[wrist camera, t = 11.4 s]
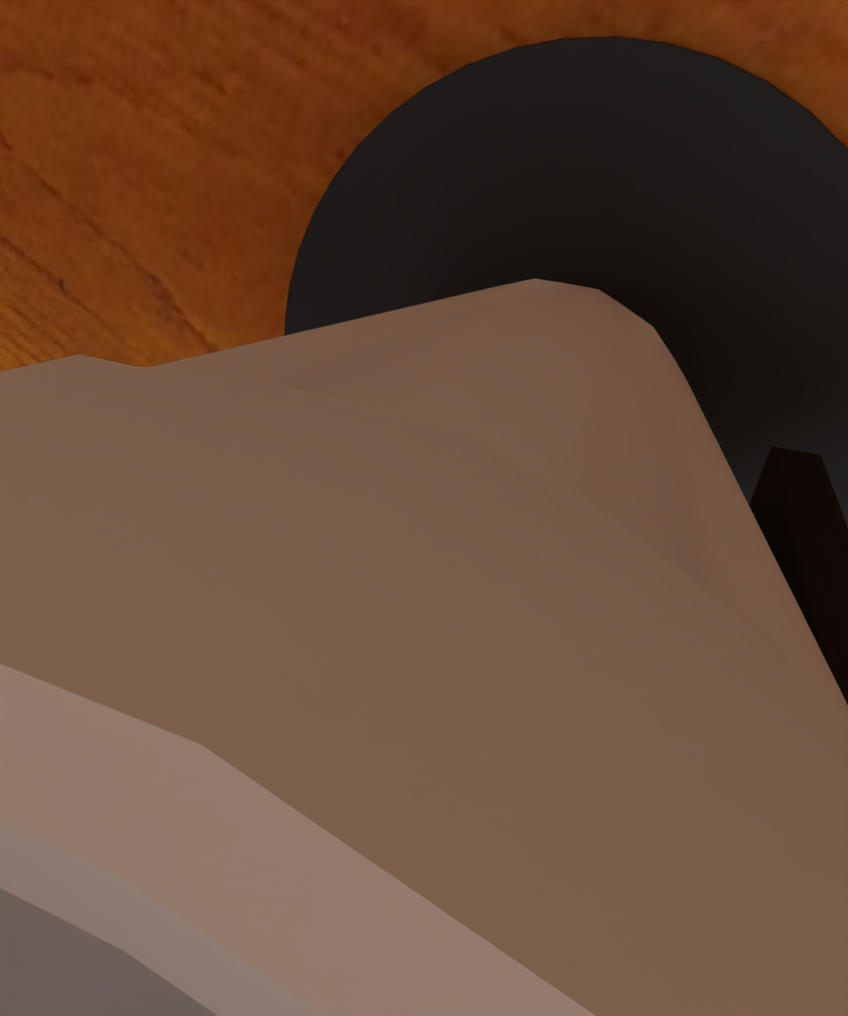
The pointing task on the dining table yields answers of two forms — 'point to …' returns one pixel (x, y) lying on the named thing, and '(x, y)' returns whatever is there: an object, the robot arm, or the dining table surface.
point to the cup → (406, 685)
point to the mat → (616, 223)
